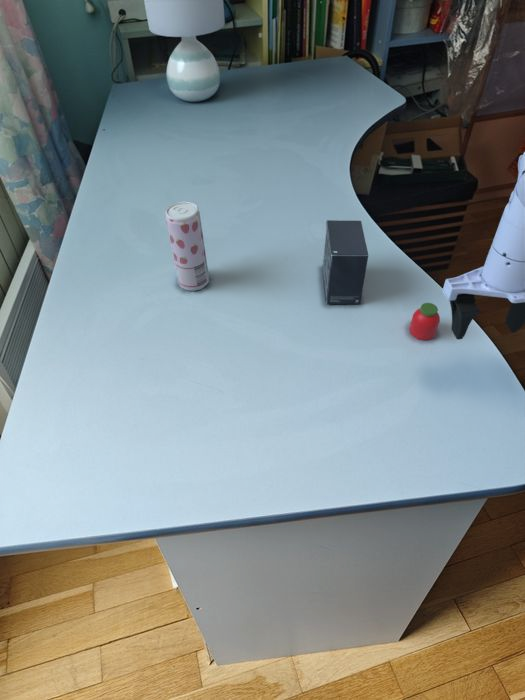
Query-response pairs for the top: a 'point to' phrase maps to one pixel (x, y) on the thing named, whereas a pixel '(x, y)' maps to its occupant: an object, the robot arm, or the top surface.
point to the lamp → (188, 44)
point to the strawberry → (425, 322)
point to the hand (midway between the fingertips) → (483, 330)
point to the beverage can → (187, 245)
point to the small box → (344, 262)
